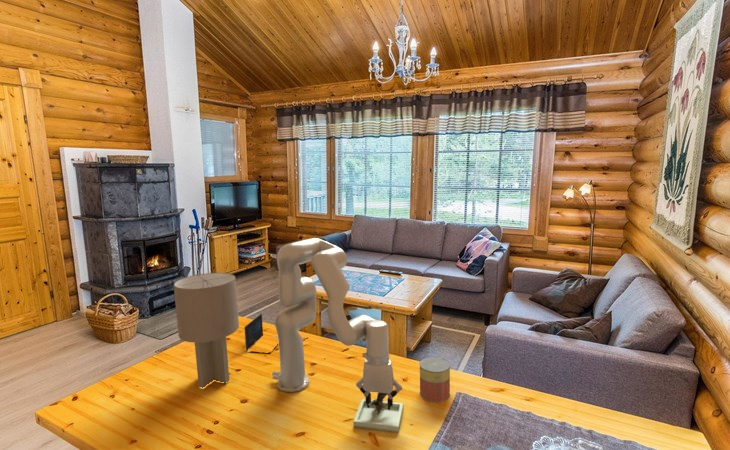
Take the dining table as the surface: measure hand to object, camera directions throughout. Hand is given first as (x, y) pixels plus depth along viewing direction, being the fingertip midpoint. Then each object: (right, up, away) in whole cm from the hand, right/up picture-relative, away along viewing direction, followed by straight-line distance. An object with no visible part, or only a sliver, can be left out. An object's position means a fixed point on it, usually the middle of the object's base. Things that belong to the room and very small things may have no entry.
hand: (379, 406), depth 134 cm
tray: (0, -4, +1) cm, 4 cm away
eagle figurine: (0, -2, +2) cm, 3 cm away
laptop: (-54, +2, +60) cm, 80 cm away
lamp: (-68, -2, +28) cm, 73 cm away
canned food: (+22, -2, +14) cm, 26 cm away
